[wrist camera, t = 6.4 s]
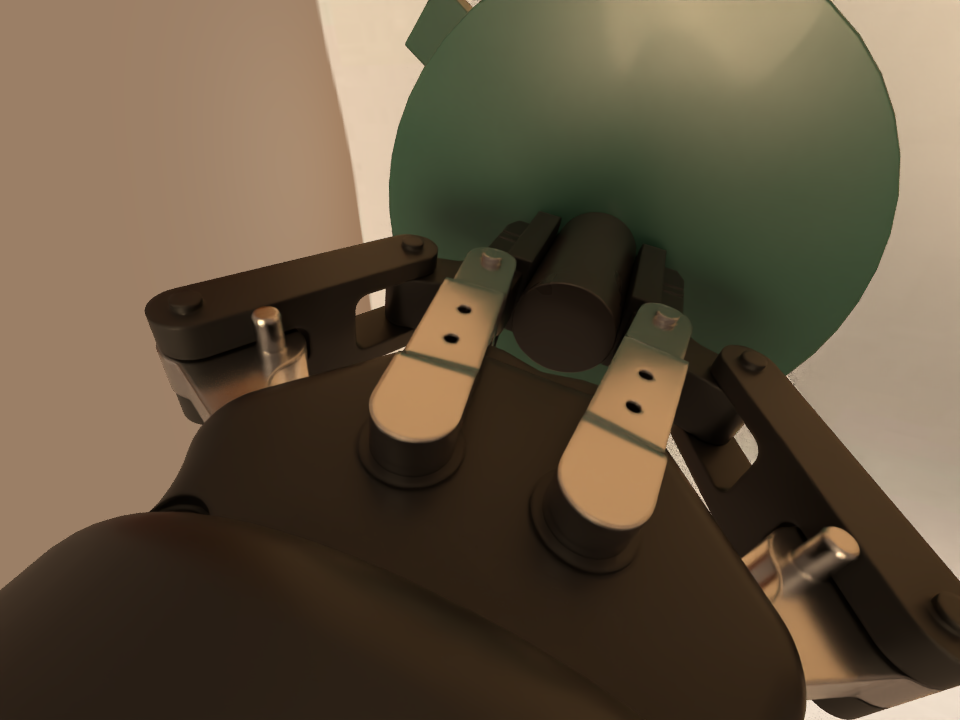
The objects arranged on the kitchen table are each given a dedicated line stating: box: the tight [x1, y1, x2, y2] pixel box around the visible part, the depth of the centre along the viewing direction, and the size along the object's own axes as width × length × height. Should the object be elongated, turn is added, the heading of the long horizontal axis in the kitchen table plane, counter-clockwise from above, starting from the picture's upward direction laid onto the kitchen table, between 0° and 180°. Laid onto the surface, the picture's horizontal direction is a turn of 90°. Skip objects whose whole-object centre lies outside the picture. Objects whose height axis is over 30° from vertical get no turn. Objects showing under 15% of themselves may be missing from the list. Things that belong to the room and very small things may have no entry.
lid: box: [389, 0, 900, 385], centre depth 13 cm, size 15×15×6 cm
